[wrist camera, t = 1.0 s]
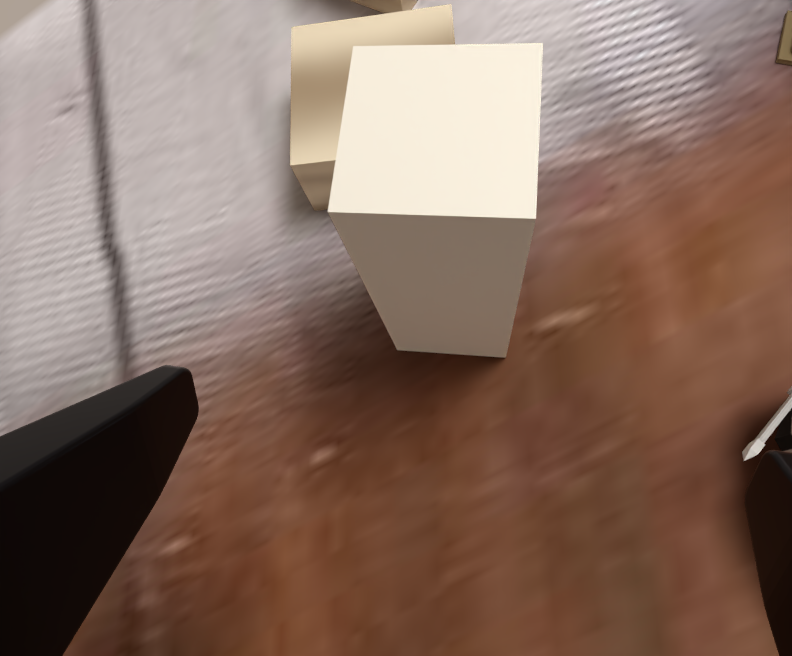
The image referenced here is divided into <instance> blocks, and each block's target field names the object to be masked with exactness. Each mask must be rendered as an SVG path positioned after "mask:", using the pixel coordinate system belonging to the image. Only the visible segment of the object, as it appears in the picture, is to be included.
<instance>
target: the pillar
mask: <svg viewBox="0 0 792 656" xmlns="http://www.w3.org/2000/svg"><path fill="white" fill-rule="evenodd" d="M542 54H543V43H530V44H460V45H390V46H353V51H352V57H351V64H350V70H349V77H348V83H347V90H346V96H345V103H344V109H343V115H342V122H341V128H340V135H339V141H338V148H337V154H336V161H335V167H334V174H333V180H332V187H331V193H330V200H329V206H328V214H329V216H330V218H331V220H332V222H333V224H334V226H335V228H336V230H337V232H338V234H339V236H340V238H341V240H342V242H343V244H344V245H345V247H346V249H347V251H348V253H349V255H350V257H351V259H352V261H353V263H354V265H355V267H356V269H357V271H358V273H359V275H360V277H361V279H362V281H363V283H364V285H365V287H366V289H367V291H368V293H369V295H370V297H371V299H372V301H373V303H374V305H375V307H376V309H377V311H378V313H379V315H380V317H381V319H382V321H383V323H384V325H385V327H386V329H387V331H388V333H389V335H390V337H391V339H392V341H393V343H394V345H395V347H396V349H397V350H403V351H417V352H431V353H445V354H460V355H474V356H488V357H503V358H506V354H507V350H508V345H509V340H510V336H511V331H512V327H513V322H514V317H515V313H516V308H517V303H518V299H519V294H520V290H521V285H522V280H523V276H524V271H525V267H526V262H527V257H528V253H529V248H530V243H531V239H532V234H533V230H534V225H535V220H536V203H537V178H538V153H539V128H540V103H541V79H542Z"/></svg>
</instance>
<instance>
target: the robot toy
mask: <svg viewBox="0 0 792 656" xmlns="http://www.w3.org/2000/svg"><path fill="white" fill-rule="evenodd" d="M787 393H788V394H789V395H790V396H789V397H788V398H787V399H786V401H785V402H784V403H783V404H782V406H781V407H780V408H779V409H778V411H777V412H776V413H775V414H774V416H773V417H772V418H771V419H770V421H769V422H768V423H767V424H766V426H765V427H764V428H763V430H762V431H761V432H760V433H759V435H758V436H757V437H756V438H755V440H754V441H752V442H750V443H749V444H748V445H747V447H746V448H745V449H744V450H743V452H742V454H743V459H744V461H745V460H747V459H749V458H751V457H754V456H756V455H758V454H759V452H760V451H761V450H762V449H763V447H764V446H765V444H764V443H765V441H766V440H767V439H768V438H769V436H770V435H771V434H772V432H773V431H774V430H775V429H776V427H777V426H778V425H779V424H780V426H779V428H778V431H777V433H776V436H775V440H776V442H777V444H778V446H779V447H780V449H781V451H785V452H792V387H791V388H790V389H789V390H788V392H787ZM780 422H781V423H780Z"/></svg>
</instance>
